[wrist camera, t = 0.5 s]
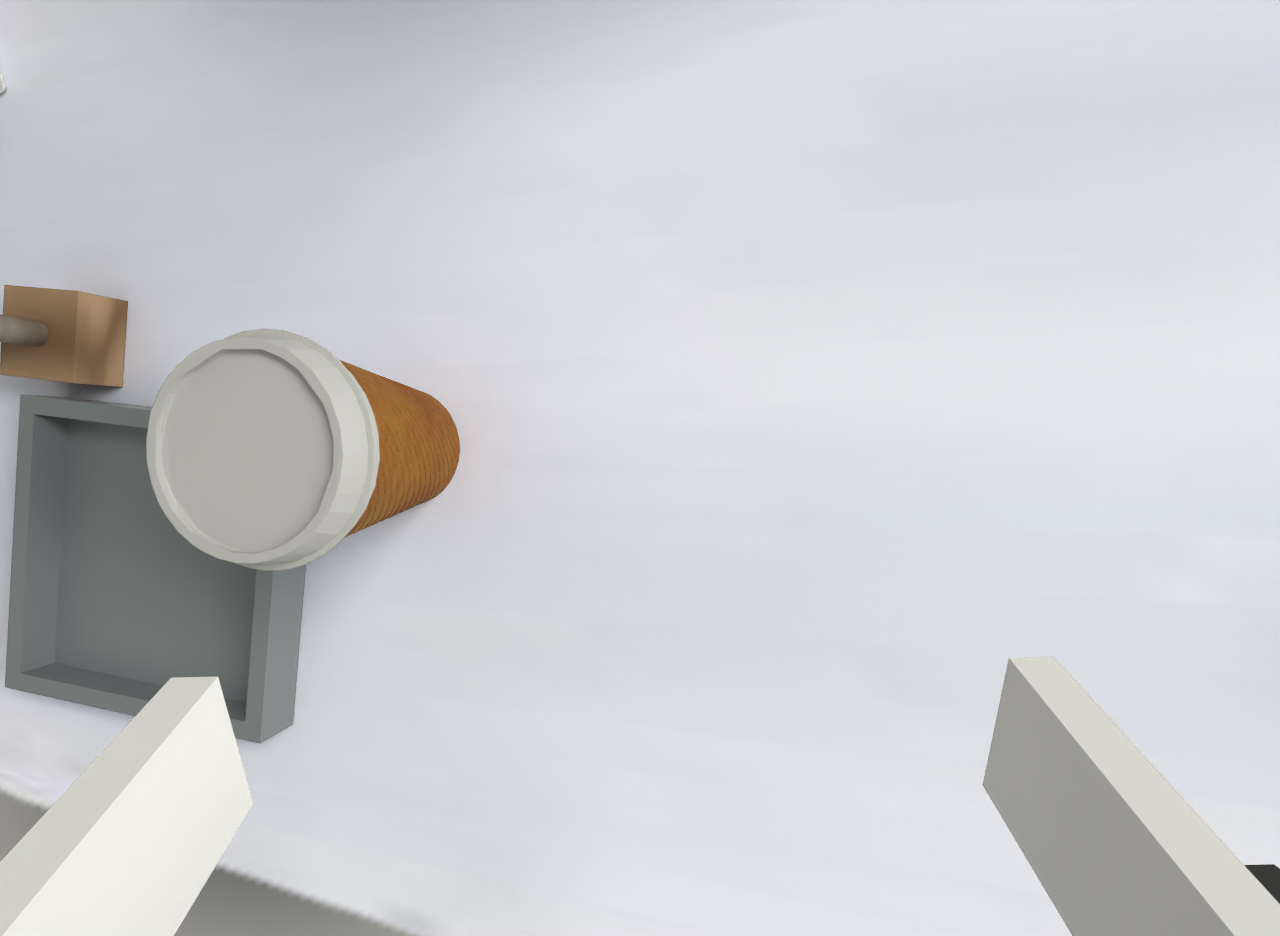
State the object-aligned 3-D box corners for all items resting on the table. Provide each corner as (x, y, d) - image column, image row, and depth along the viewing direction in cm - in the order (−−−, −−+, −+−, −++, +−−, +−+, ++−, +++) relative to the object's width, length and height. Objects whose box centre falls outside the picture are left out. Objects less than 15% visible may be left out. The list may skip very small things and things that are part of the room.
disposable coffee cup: (490, 359, 38) (356, 323, 26) (486, 539, 38) (353, 585, 26) (328, 358, 40) (134, 323, 28) (327, 530, 40) (135, 567, 28)
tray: (65, 397, 43) (20, 394, 41) (316, 427, 40) (284, 426, 37) (50, 672, 44) (4, 687, 42) (292, 724, 41) (259, 743, 38)
